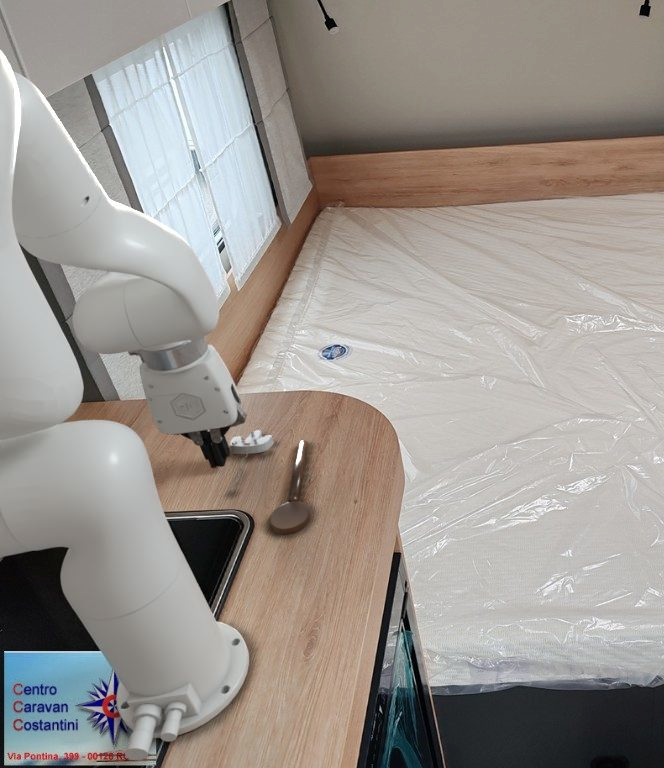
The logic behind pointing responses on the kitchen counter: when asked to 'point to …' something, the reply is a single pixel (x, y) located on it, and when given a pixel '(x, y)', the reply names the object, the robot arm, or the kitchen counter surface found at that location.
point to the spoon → (293, 499)
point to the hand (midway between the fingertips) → (220, 460)
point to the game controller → (251, 445)
